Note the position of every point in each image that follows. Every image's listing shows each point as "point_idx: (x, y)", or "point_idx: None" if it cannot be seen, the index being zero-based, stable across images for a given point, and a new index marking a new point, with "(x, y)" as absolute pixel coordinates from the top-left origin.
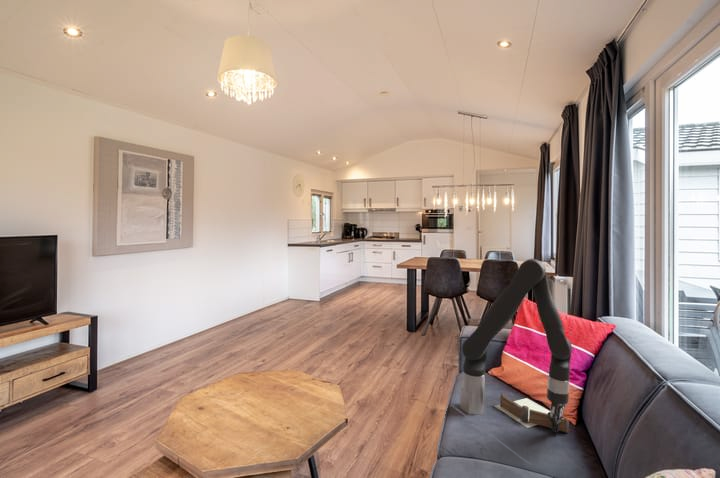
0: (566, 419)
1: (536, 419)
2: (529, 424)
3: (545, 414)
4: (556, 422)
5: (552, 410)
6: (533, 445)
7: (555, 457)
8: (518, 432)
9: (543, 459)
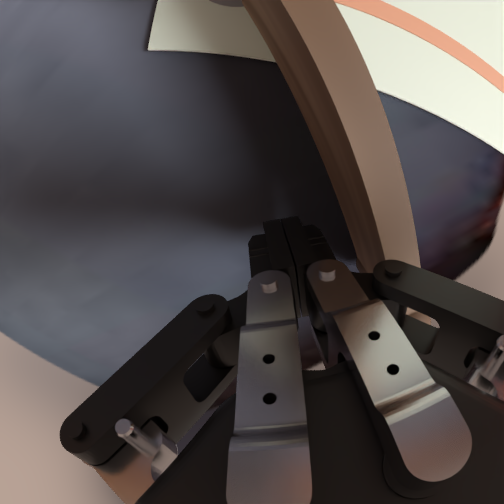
0: None
1: (281, 49)
2: (215, 23)
3: (357, 148)
4: (202, 373)
5: (125, 500)
6: (32, 219)
7: (75, 326)
8: (48, 67)
9: (20, 303)
